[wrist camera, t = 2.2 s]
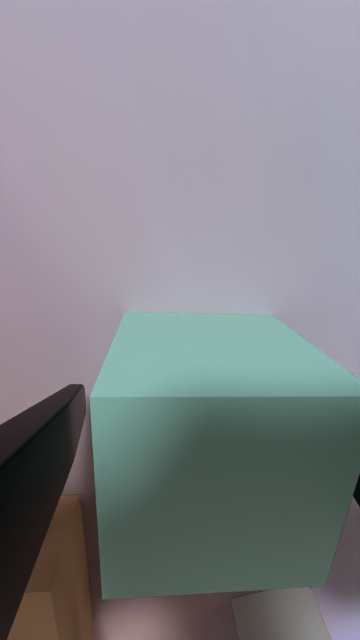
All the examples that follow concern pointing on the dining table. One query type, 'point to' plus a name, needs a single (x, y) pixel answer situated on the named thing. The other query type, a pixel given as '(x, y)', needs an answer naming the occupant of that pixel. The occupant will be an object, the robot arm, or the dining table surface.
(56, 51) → the dining table surface
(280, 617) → the grey cube
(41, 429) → the robot arm
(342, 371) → the teal cube
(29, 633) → the tan flat block
